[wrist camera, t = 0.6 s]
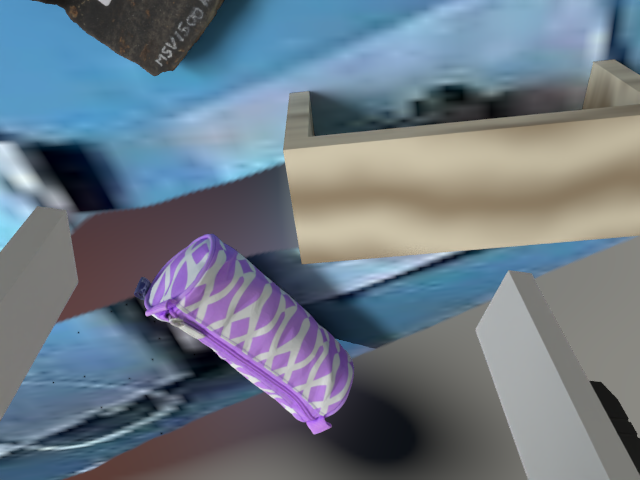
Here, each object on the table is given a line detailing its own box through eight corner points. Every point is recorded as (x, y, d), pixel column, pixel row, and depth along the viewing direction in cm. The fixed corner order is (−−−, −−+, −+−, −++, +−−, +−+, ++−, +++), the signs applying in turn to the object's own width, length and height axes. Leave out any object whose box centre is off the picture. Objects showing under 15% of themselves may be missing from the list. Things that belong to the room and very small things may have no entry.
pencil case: (146, 259, 47) (113, 333, 39) (210, 206, 43) (188, 277, 35) (299, 369, 57) (297, 445, 49) (362, 333, 53) (370, 409, 46)
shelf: (289, 93, 37) (283, 149, 29) (614, 59, 35) (696, 109, 28) (304, 194, 42) (301, 264, 34) (586, 168, 41) (648, 234, 33)
